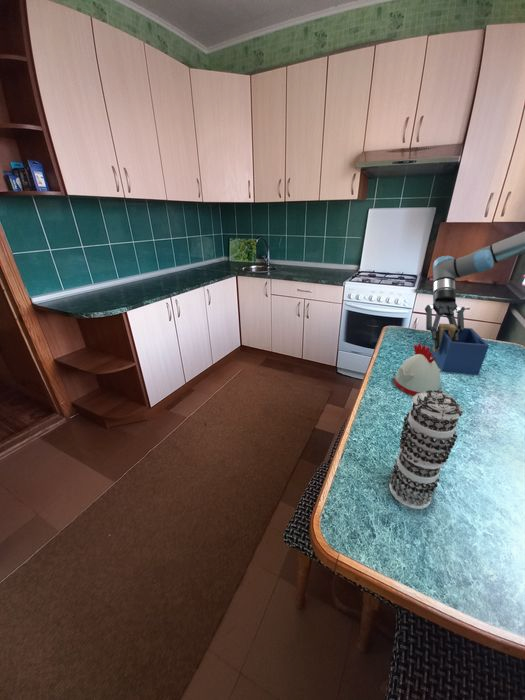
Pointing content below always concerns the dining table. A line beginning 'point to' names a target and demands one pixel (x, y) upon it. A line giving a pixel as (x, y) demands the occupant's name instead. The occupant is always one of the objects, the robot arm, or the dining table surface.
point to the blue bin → (461, 352)
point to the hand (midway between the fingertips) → (445, 348)
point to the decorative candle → (424, 447)
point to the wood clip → (441, 329)
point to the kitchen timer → (418, 373)
